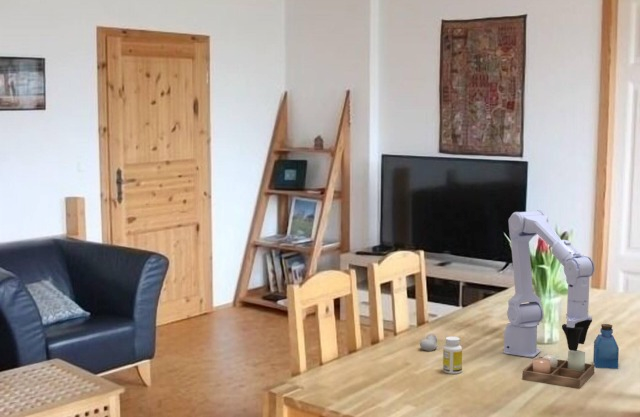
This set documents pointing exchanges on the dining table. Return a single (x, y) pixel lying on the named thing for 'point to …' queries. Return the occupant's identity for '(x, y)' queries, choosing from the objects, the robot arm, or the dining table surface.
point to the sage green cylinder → (576, 360)
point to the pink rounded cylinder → (541, 365)
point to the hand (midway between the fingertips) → (576, 346)
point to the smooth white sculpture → (429, 343)
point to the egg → (552, 360)
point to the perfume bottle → (606, 349)
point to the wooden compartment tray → (560, 375)
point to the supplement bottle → (452, 356)
